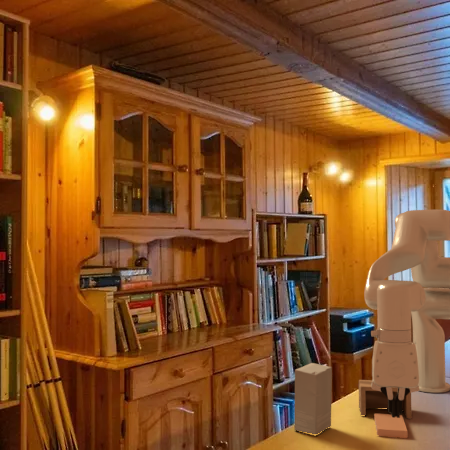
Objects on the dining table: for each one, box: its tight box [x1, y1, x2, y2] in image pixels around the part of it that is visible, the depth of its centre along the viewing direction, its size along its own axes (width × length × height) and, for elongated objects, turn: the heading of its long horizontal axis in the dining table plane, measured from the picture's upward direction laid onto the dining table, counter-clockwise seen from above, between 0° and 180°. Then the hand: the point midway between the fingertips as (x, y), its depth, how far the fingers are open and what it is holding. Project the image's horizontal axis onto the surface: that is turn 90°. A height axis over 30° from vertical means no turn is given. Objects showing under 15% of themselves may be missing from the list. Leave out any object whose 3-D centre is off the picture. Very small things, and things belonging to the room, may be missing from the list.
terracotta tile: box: [373, 412, 409, 439], centre depth 138 cm, size 12×7×2 cm, turn 168°
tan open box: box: [358, 379, 412, 419], centre depth 151 cm, size 8×13×8 cm, turn 80°
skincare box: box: [293, 362, 333, 434], centre depth 138 cm, size 8×7×16 cm
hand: (395, 415), depth 127 cm, fingers closed
